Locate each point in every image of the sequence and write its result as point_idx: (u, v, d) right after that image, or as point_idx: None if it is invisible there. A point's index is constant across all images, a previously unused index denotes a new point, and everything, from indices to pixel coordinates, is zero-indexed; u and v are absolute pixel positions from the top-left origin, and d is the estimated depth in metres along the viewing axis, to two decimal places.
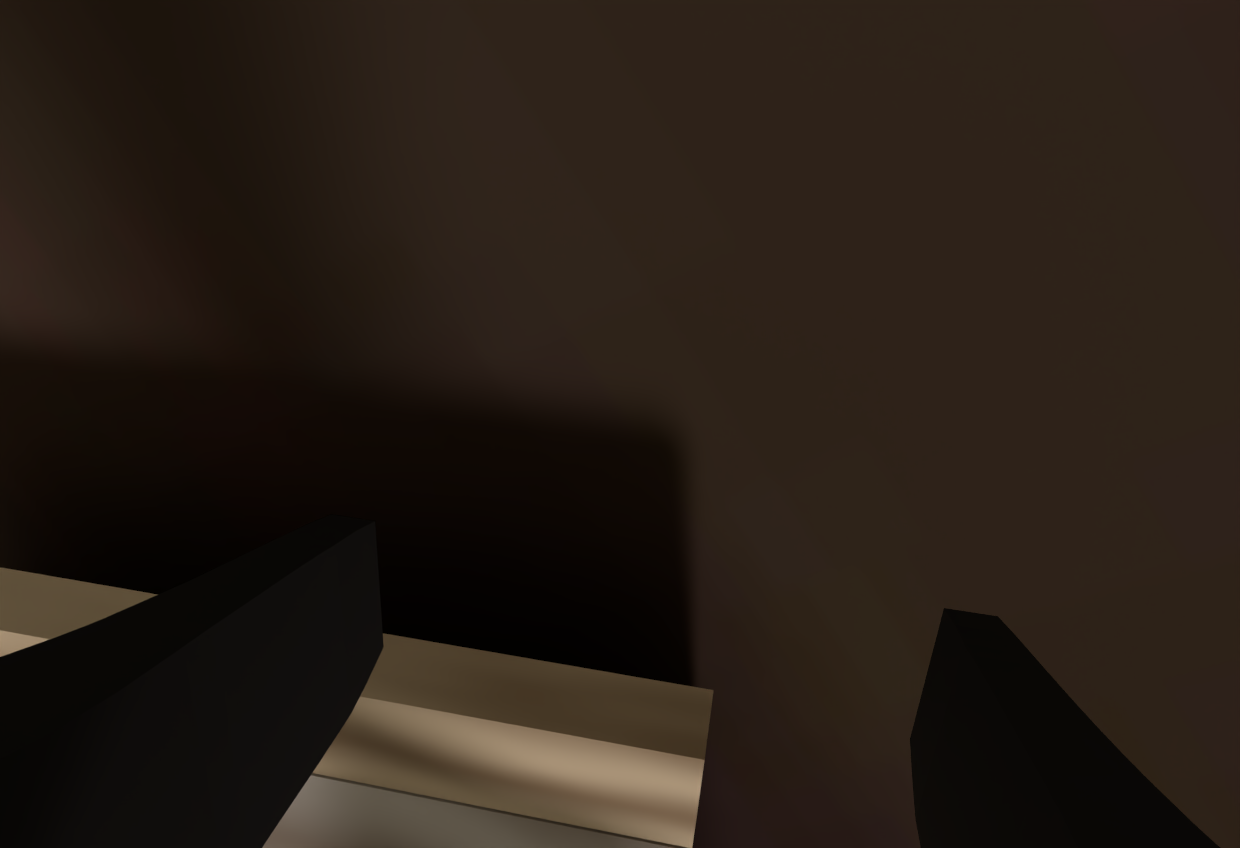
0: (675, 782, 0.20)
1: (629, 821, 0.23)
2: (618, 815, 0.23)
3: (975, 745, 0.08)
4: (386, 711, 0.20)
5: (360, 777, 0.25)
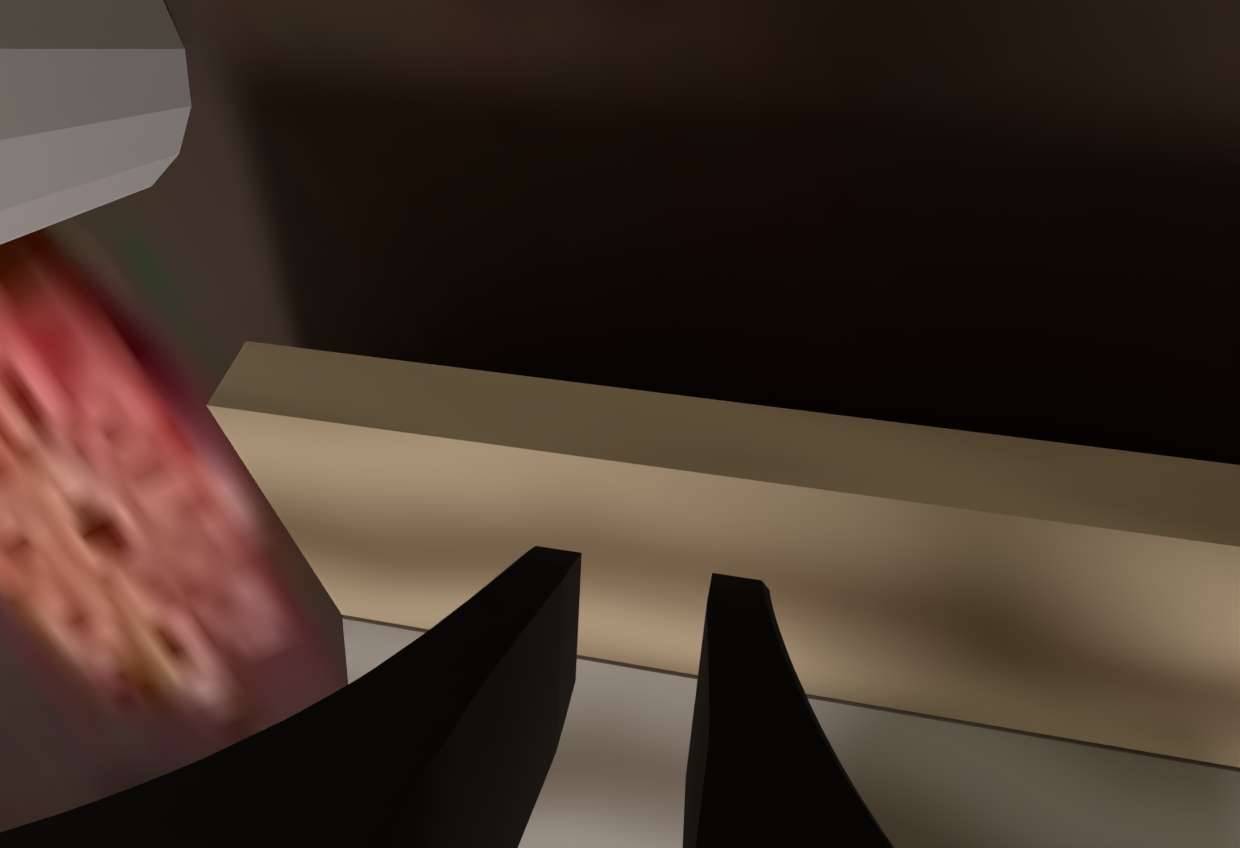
0: None
1: None
2: None
3: (700, 698, 0.09)
4: (1122, 558, 0.13)
5: (867, 692, 0.19)
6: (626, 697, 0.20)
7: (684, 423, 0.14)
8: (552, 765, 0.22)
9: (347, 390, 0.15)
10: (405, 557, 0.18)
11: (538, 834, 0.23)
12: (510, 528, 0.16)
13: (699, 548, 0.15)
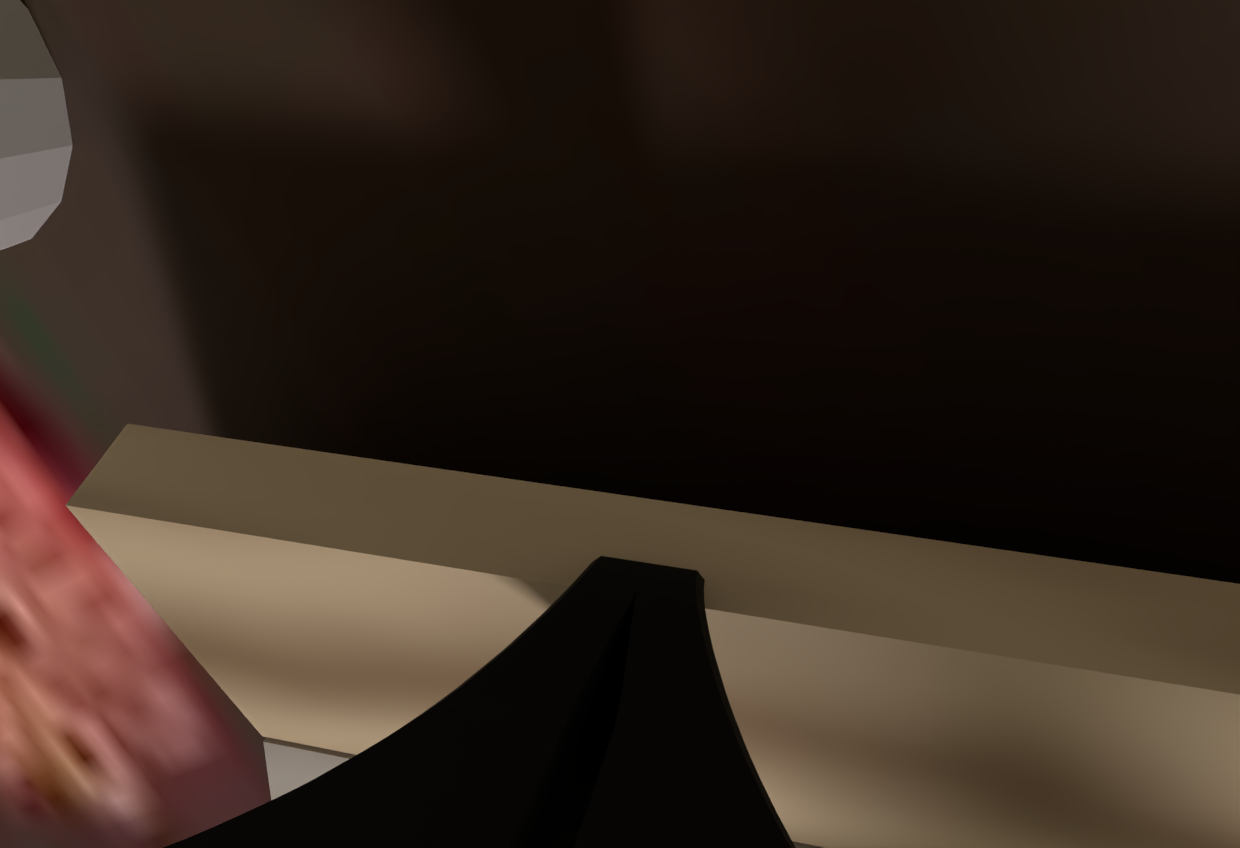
0: None
1: None
2: None
3: None
4: (1221, 724, 0.10)
5: (883, 847, 0.16)
6: None
7: (657, 536, 0.11)
8: None
9: (242, 488, 0.12)
10: (326, 681, 0.15)
11: None
12: (446, 655, 0.13)
13: None
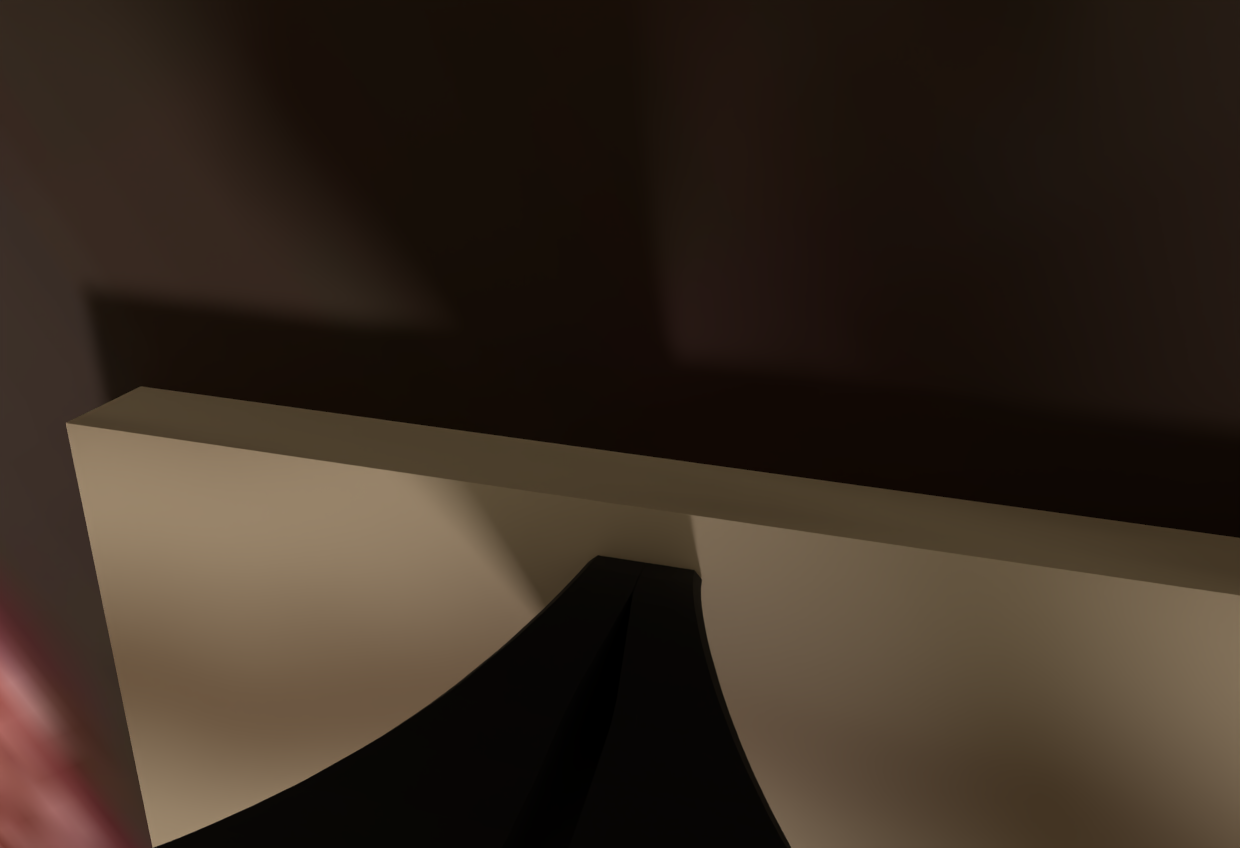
0: None
1: None
2: None
3: None
4: None
5: None
6: None
7: (674, 477, 0.11)
8: None
9: (252, 425, 0.12)
10: (270, 721, 0.13)
11: None
12: (426, 648, 0.12)
13: None
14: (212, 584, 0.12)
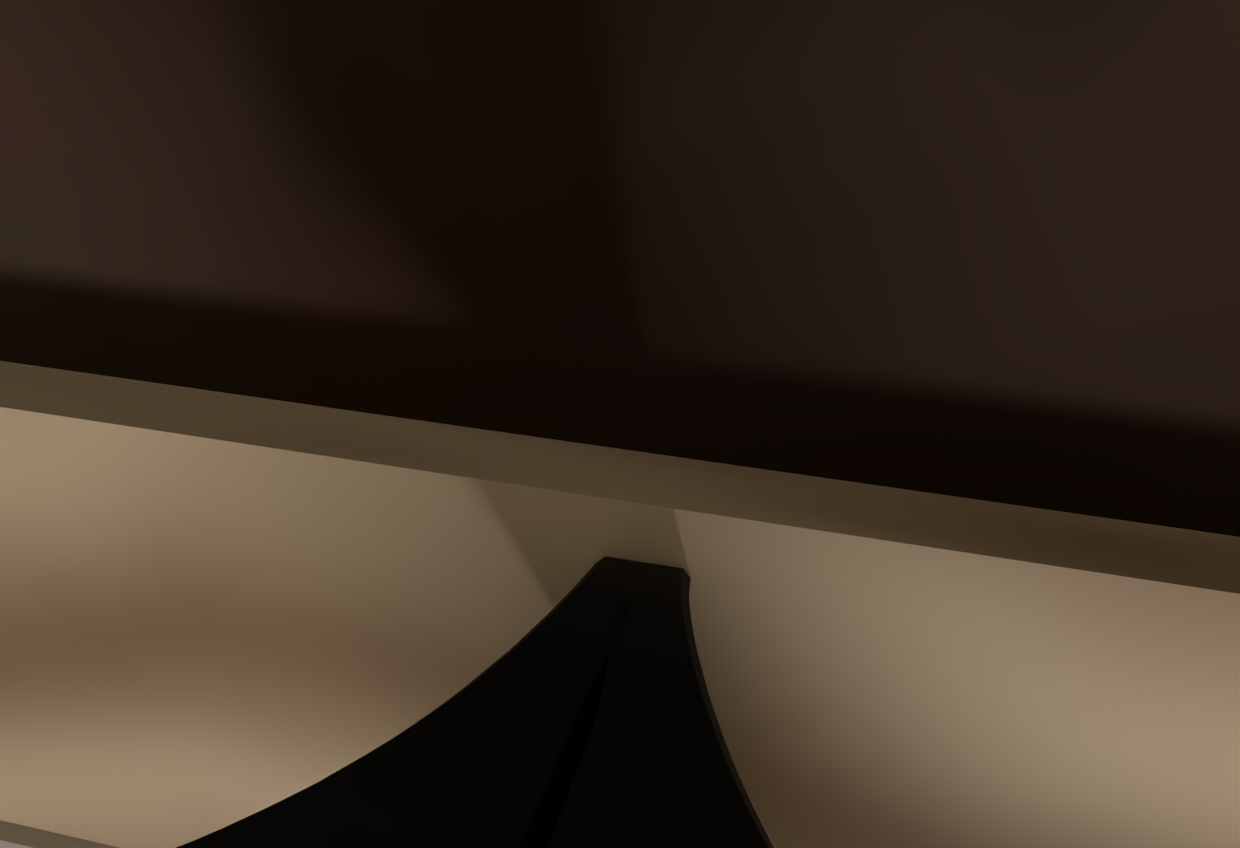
0: None
1: None
2: None
3: None
4: (834, 587, 0.10)
5: None
6: None
7: (329, 424, 0.12)
8: None
9: None
10: None
11: None
12: (111, 587, 0.12)
13: (338, 610, 0.12)
14: None
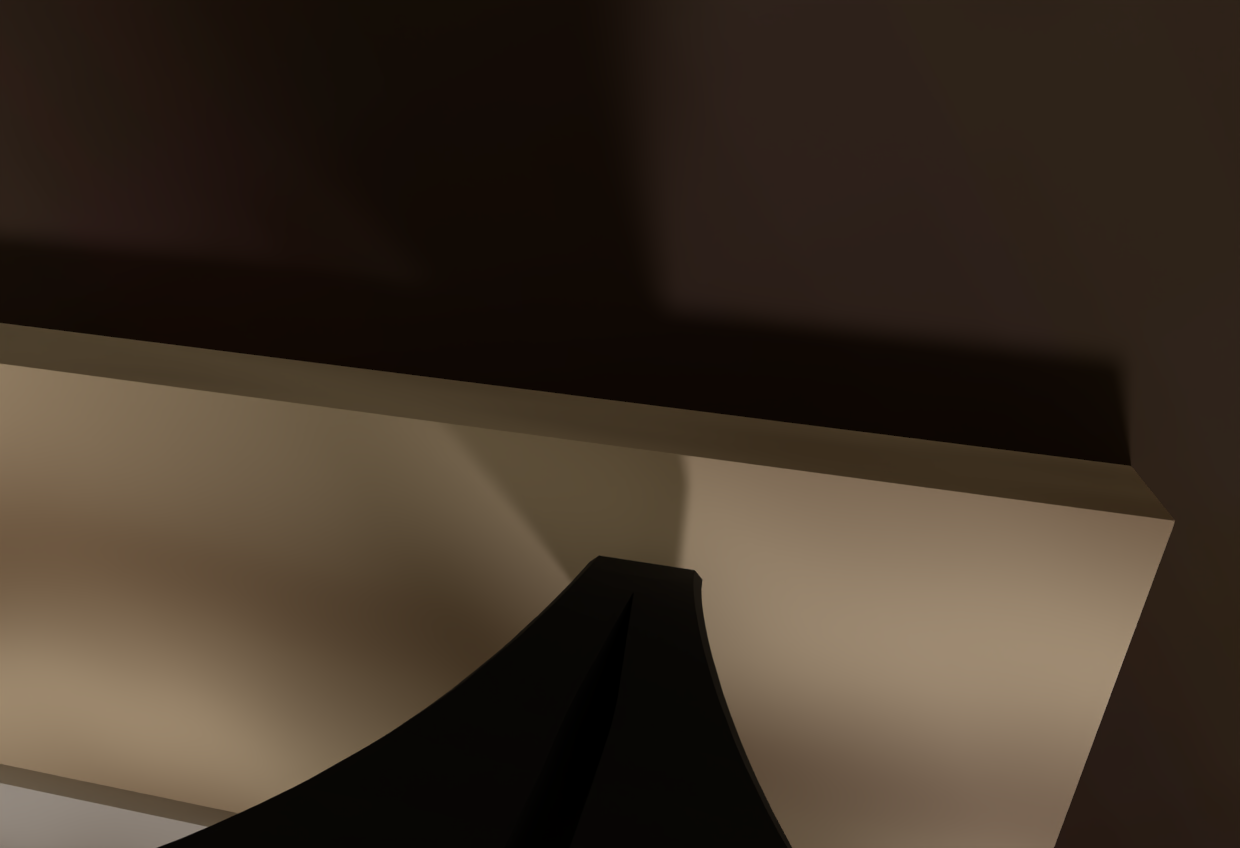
0: (1075, 651, 0.11)
1: None
2: None
3: None
4: (568, 489, 0.11)
5: None
6: (140, 845, 0.16)
7: (135, 354, 0.13)
8: None
9: None
10: None
11: None
12: None
13: (146, 525, 0.13)
14: None
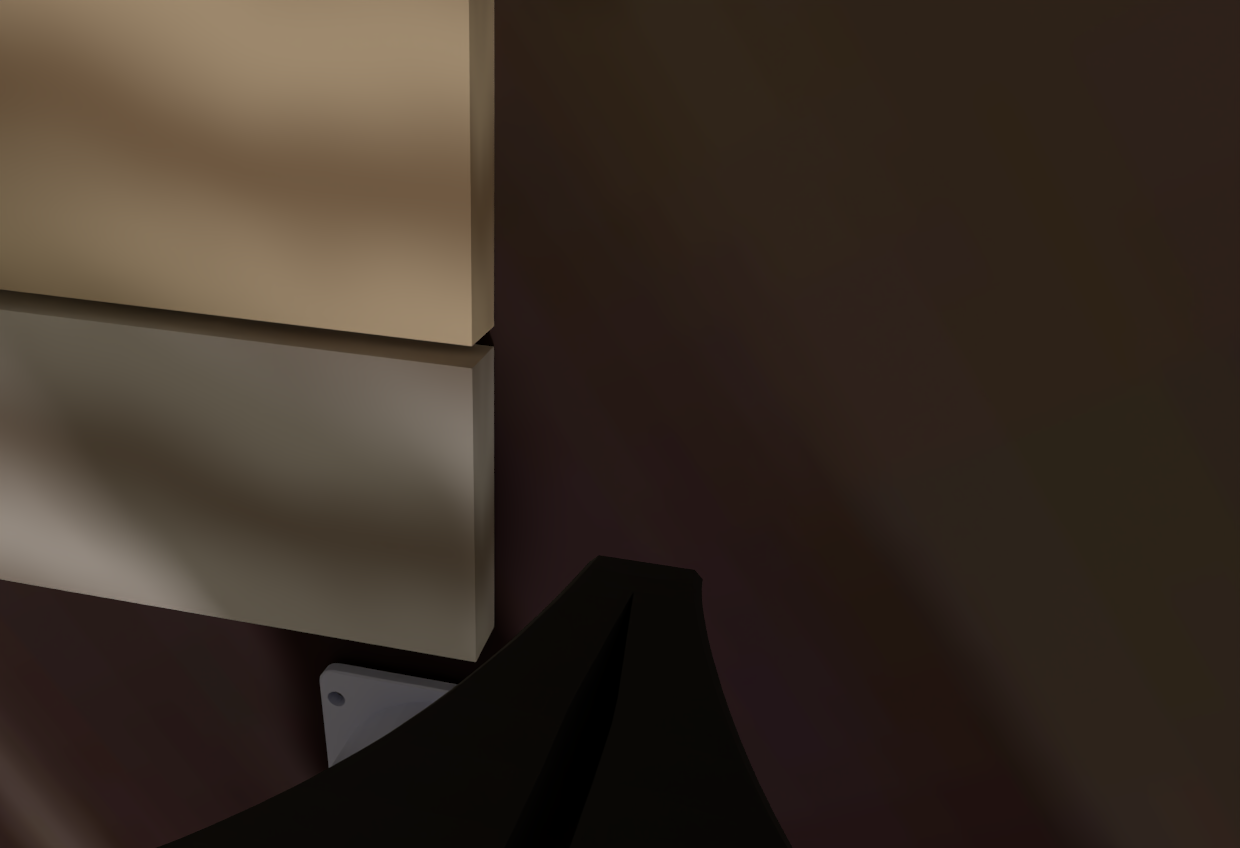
0: (440, 38, 0.16)
1: (391, 263, 0.18)
2: (377, 241, 0.18)
3: None
4: None
5: (62, 270, 0.20)
6: None
7: None
8: None
9: None
10: None
11: None
12: None
13: None
14: None
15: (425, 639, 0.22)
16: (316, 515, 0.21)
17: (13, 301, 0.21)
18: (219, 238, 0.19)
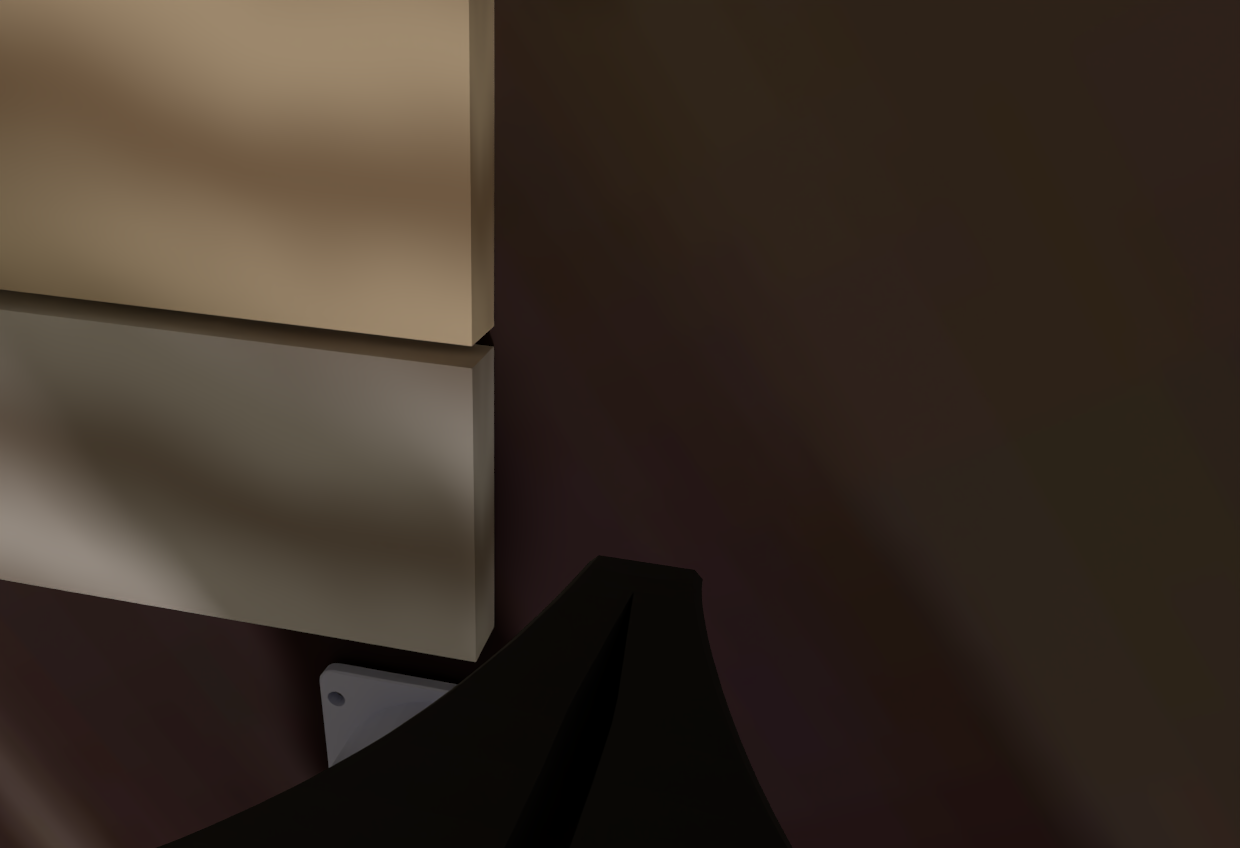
0: (440, 38, 0.16)
1: (391, 263, 0.18)
2: (377, 241, 0.18)
3: None
4: None
5: (62, 270, 0.20)
6: None
7: None
8: None
9: None
10: None
11: None
12: None
13: None
14: None
15: (425, 639, 0.22)
16: (316, 515, 0.21)
17: (13, 301, 0.21)
18: (219, 238, 0.19)
